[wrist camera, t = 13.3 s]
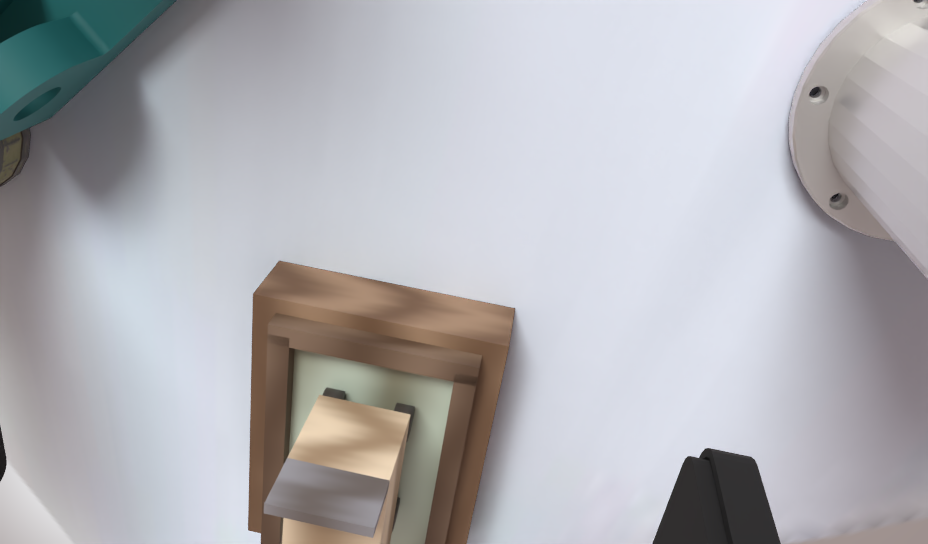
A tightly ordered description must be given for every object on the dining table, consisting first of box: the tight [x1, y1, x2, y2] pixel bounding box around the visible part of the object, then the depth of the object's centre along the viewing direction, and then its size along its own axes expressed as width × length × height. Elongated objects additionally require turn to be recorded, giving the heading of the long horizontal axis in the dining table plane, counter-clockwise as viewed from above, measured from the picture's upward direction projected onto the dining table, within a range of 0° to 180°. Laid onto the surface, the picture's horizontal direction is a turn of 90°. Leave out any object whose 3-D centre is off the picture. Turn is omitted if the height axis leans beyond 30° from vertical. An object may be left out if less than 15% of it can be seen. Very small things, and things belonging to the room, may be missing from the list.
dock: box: [248, 261, 515, 544], centre depth 46 cm, size 14×18×5 cm
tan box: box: [264, 387, 415, 544], centre depth 40 cm, size 5×10×10 cm, turn 171°
